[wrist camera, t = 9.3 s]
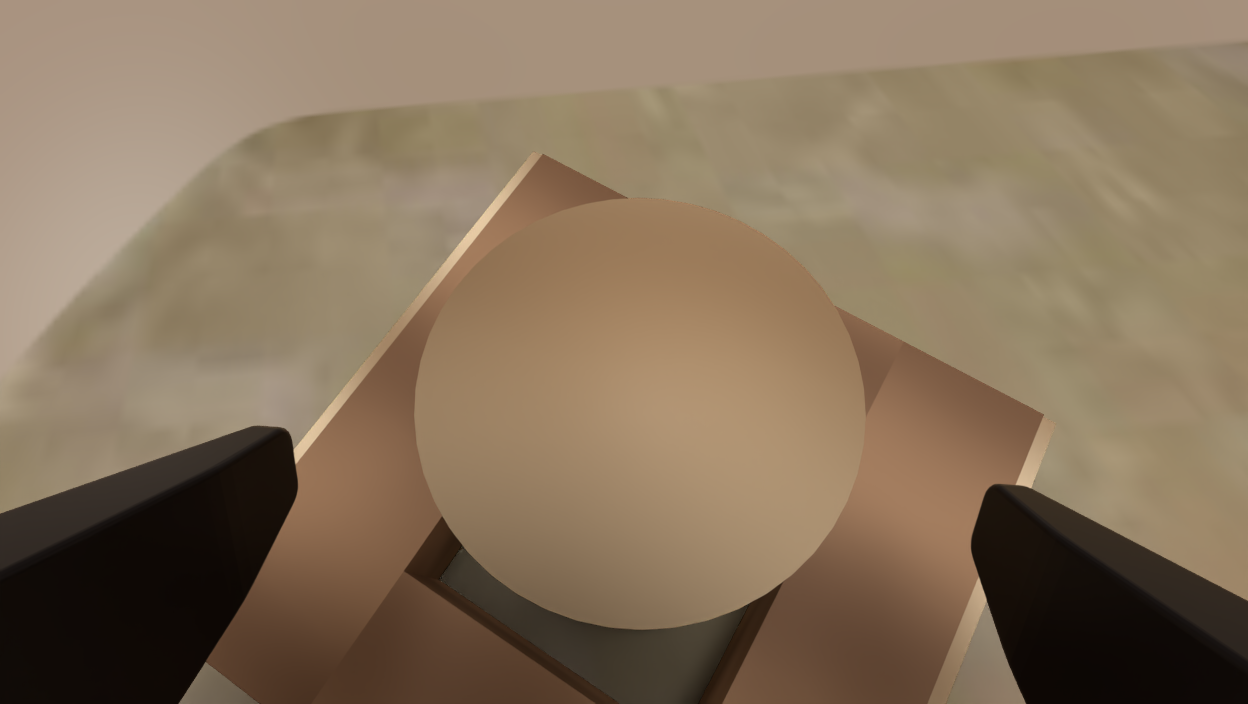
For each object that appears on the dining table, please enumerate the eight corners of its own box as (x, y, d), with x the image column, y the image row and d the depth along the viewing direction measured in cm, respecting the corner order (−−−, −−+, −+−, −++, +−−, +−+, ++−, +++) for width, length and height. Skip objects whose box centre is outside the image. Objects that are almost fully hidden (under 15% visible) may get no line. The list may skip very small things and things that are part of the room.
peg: (708, 641, 17) (870, 670, 6) (528, 615, 17) (353, 597, 6) (722, 461, 19) (871, 218, 7) (558, 440, 19) (464, 173, 8)
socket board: (757, 1032, 14) (789, 1132, 11) (218, 625, 17) (139, 625, 14) (1001, 449, 19) (1067, 418, 16) (543, 203, 22) (531, 140, 19)
